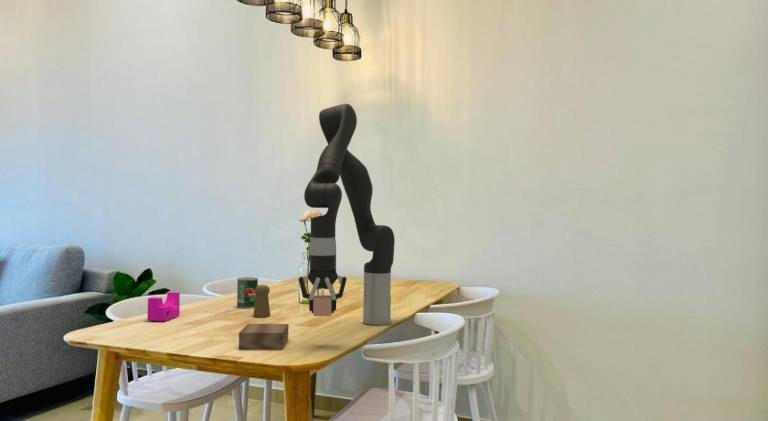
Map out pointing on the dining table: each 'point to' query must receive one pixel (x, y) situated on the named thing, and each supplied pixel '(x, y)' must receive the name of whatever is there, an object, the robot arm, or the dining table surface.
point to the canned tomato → (246, 292)
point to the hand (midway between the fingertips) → (322, 312)
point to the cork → (262, 301)
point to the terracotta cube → (322, 305)
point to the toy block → (164, 307)
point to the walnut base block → (263, 337)
